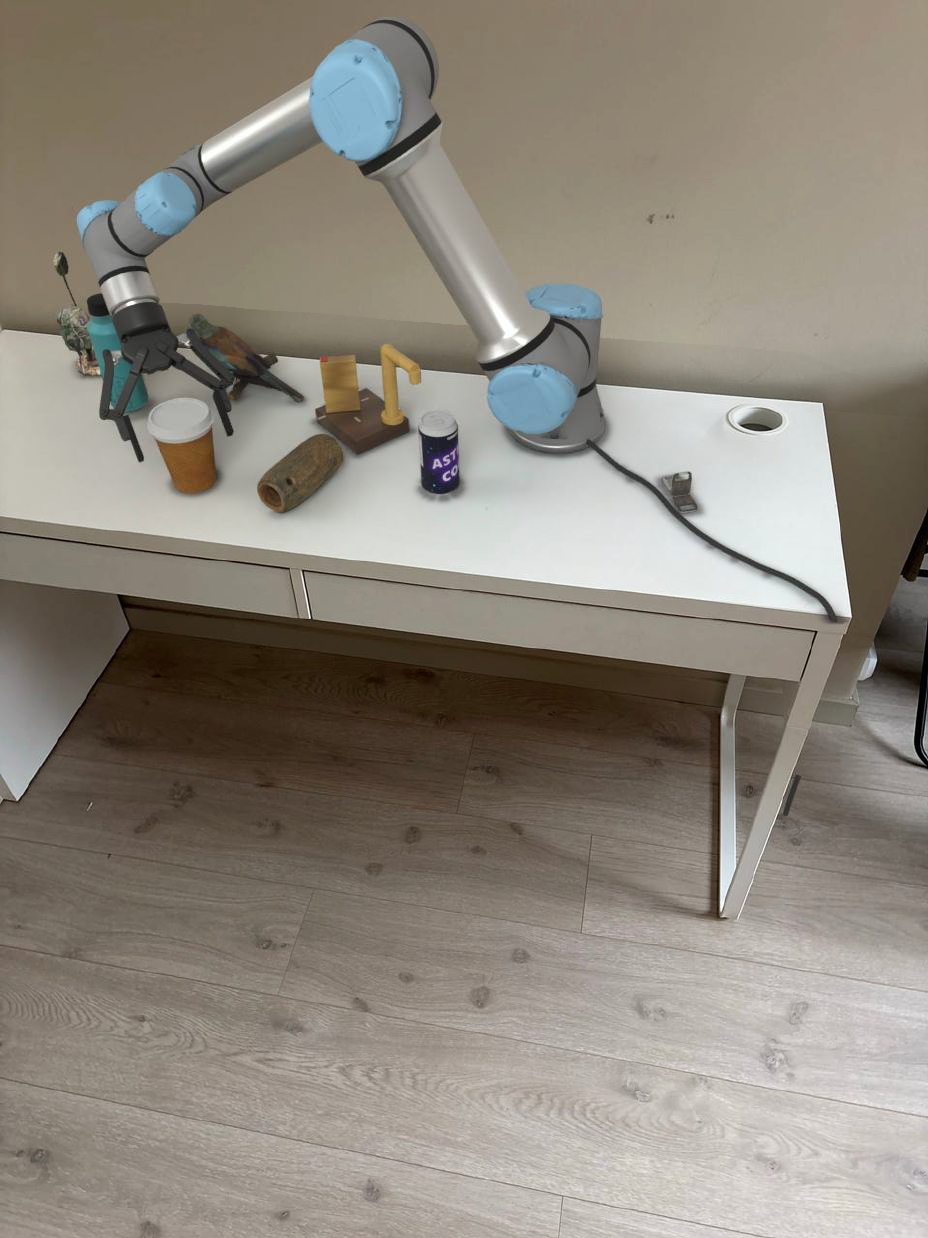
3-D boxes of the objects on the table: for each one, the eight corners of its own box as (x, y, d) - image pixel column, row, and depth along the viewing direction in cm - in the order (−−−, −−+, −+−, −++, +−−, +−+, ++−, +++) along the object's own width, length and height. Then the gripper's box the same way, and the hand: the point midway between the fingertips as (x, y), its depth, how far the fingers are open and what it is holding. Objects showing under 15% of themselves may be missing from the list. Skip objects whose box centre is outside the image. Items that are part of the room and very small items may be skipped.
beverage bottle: (160, 405, 171) (130, 293, 157) (131, 424, 167) (98, 311, 153) (132, 394, 174) (100, 283, 160) (103, 413, 170) (68, 300, 156)
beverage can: (432, 503, 150) (428, 434, 142) (415, 482, 154) (411, 414, 146) (466, 491, 152) (464, 423, 144) (448, 472, 156) (446, 404, 148)
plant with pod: (58, 380, 177) (21, 270, 163) (91, 348, 185) (58, 240, 171) (100, 386, 176) (67, 275, 162) (132, 353, 184) (102, 245, 170)
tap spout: (431, 436, 158) (427, 361, 149) (412, 445, 157) (407, 369, 148) (395, 410, 164) (390, 336, 155) (377, 418, 162) (370, 343, 153)
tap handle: (360, 404, 165) (354, 352, 159) (360, 410, 164) (355, 358, 158) (326, 407, 165) (319, 355, 159) (326, 413, 164) (319, 361, 157)
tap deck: (409, 431, 164) (408, 417, 162) (350, 457, 159) (348, 443, 157) (361, 396, 172) (360, 382, 170) (303, 419, 167) (301, 405, 165)
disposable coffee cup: (213, 503, 151) (197, 435, 143) (153, 496, 153) (134, 428, 145) (236, 466, 158) (221, 398, 150) (178, 459, 160) (161, 392, 151)
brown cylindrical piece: (298, 524, 148) (291, 486, 143) (257, 511, 150) (249, 474, 145) (349, 467, 157) (345, 431, 153) (310, 457, 159) (305, 420, 155)
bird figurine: (321, 382, 174) (252, 277, 165) (291, 413, 167) (217, 305, 159) (271, 403, 182) (203, 304, 173) (240, 432, 176) (168, 331, 167)
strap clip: (659, 480, 153) (662, 456, 150) (679, 477, 154) (682, 454, 151) (678, 514, 147) (682, 491, 144) (699, 511, 148) (703, 488, 145)
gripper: (215, 299, 158) (263, 429, 159) (51, 339, 150) (102, 476, 151) (219, 281, 151) (269, 417, 152) (48, 321, 143) (101, 465, 144)
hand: (186, 447), depth 151 cm, fingers open, 13 cm apart
